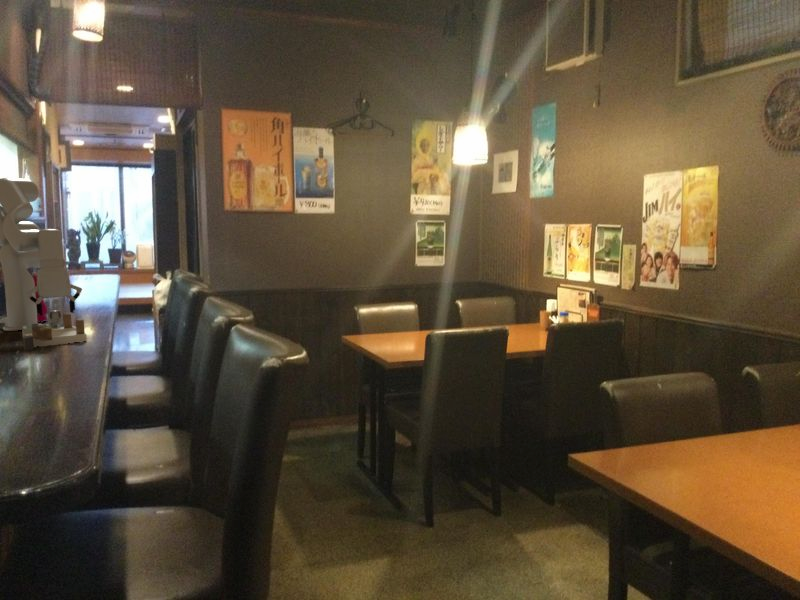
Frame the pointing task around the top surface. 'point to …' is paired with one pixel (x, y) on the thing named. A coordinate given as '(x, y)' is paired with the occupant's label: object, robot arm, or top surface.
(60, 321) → the leg peg
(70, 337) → the seat board
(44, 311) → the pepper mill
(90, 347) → the top surface
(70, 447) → the top surface
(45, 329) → the hinged leg
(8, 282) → the robot arm
